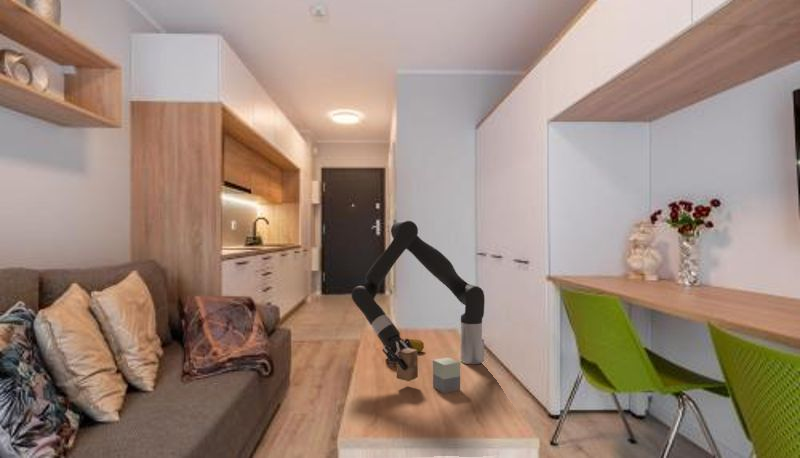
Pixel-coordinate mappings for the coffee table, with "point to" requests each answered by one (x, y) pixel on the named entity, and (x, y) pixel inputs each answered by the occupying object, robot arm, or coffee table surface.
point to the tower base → (446, 384)
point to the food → (415, 344)
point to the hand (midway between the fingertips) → (411, 366)
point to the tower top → (446, 368)
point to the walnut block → (408, 364)
